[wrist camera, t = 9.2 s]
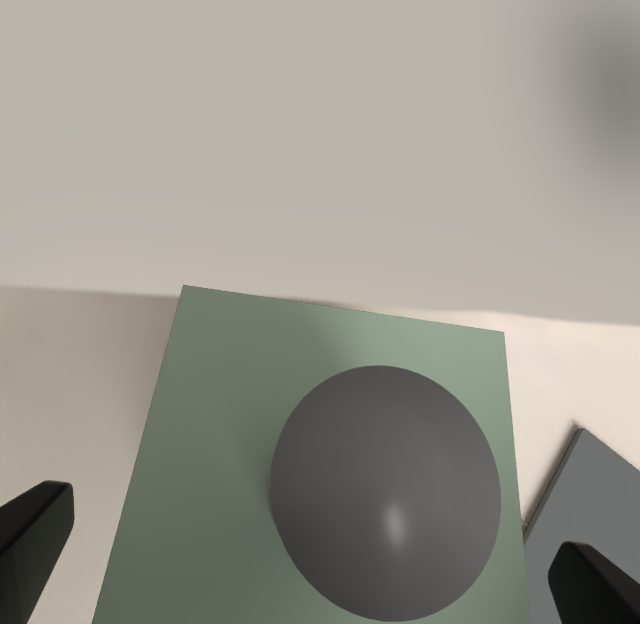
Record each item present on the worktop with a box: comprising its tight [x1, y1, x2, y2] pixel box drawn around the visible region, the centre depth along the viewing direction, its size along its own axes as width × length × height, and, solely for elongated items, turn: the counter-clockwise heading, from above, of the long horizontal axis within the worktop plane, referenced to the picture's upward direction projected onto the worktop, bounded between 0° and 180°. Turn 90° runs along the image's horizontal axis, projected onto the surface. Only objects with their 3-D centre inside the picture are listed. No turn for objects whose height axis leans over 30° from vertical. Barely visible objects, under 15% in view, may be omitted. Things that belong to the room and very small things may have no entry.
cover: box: [92, 285, 531, 624], centre depth 10 cm, size 7×7×13 cm
